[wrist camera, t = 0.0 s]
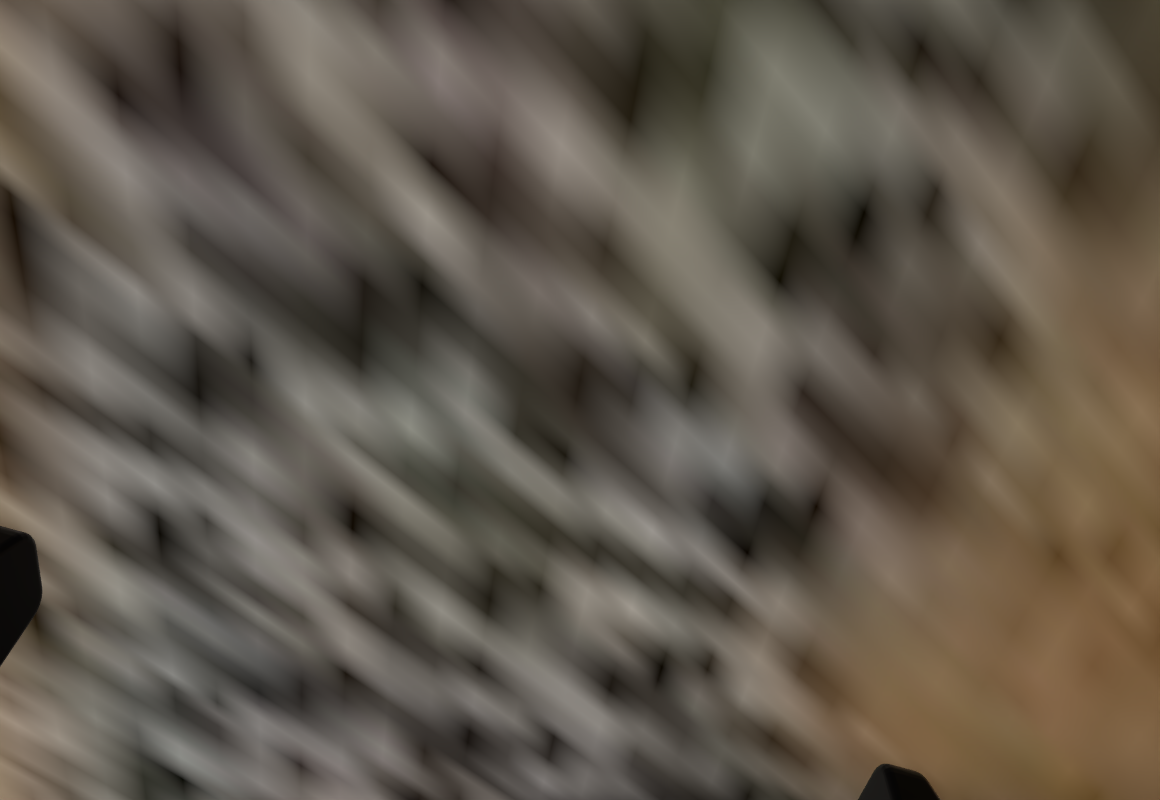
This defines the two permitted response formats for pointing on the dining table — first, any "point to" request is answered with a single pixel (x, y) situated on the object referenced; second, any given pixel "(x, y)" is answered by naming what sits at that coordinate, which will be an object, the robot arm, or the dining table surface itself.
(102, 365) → the dining table surface
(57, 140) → the dining table surface
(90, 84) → the dining table surface
